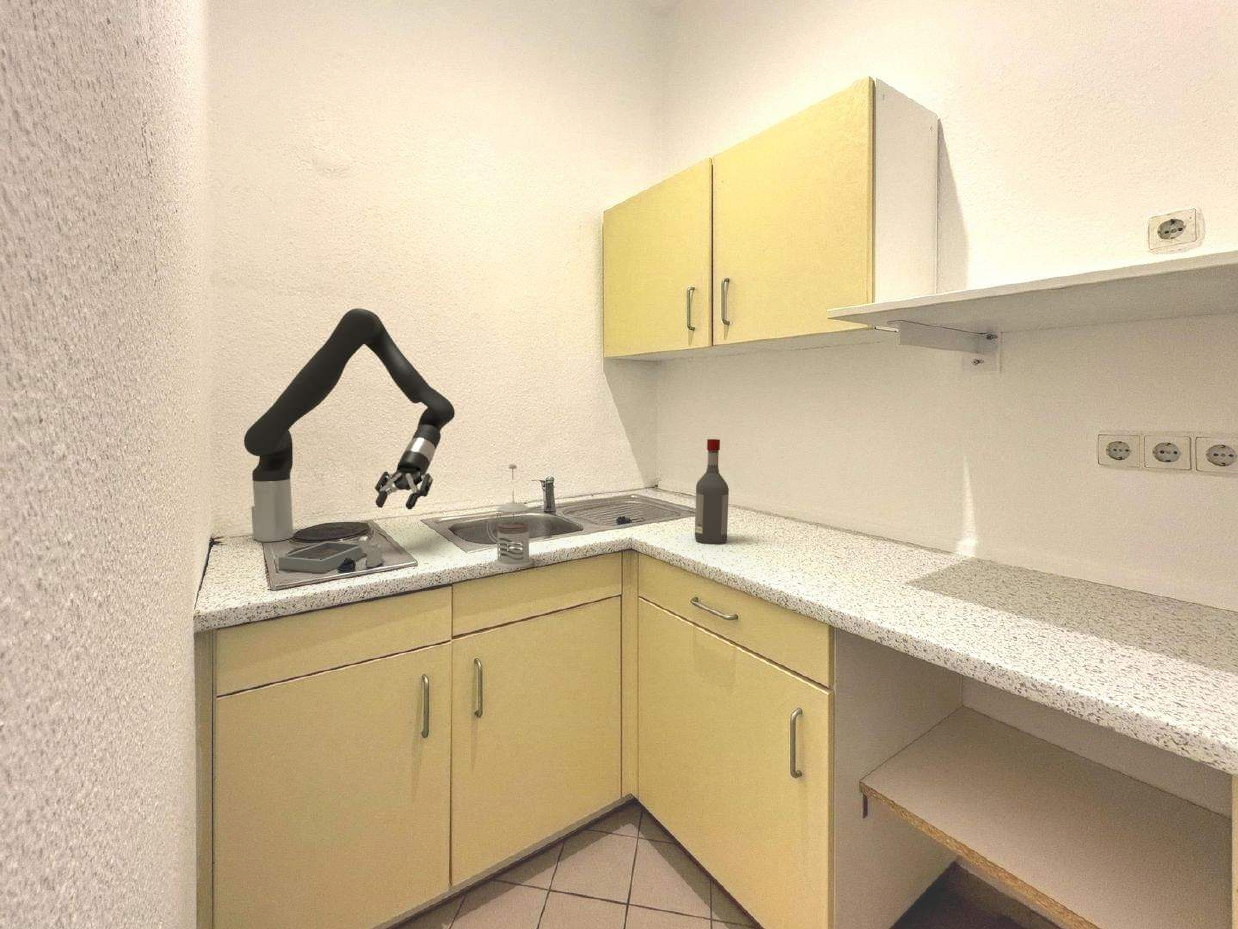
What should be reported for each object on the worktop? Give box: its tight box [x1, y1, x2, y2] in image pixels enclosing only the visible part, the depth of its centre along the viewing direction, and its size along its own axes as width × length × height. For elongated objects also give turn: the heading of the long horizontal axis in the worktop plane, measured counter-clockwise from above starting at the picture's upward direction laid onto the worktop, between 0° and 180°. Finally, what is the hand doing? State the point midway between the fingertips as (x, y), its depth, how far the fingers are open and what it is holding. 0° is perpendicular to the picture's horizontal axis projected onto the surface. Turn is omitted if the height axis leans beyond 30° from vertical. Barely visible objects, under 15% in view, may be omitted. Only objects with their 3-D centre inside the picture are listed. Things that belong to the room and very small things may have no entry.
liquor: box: [694, 438, 730, 545], centre depth 165 cm, size 9×9×30 cm
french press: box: [486, 463, 534, 569], centre depth 141 cm, size 10×12×25 cm
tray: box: [277, 540, 367, 575], centre depth 140 cm, size 12×16×3 cm
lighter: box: [358, 536, 383, 568], centre depth 137 cm, size 7×2×8 cm, turn 172°
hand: (393, 506), depth 145 cm, fingers open, 8 cm apart
